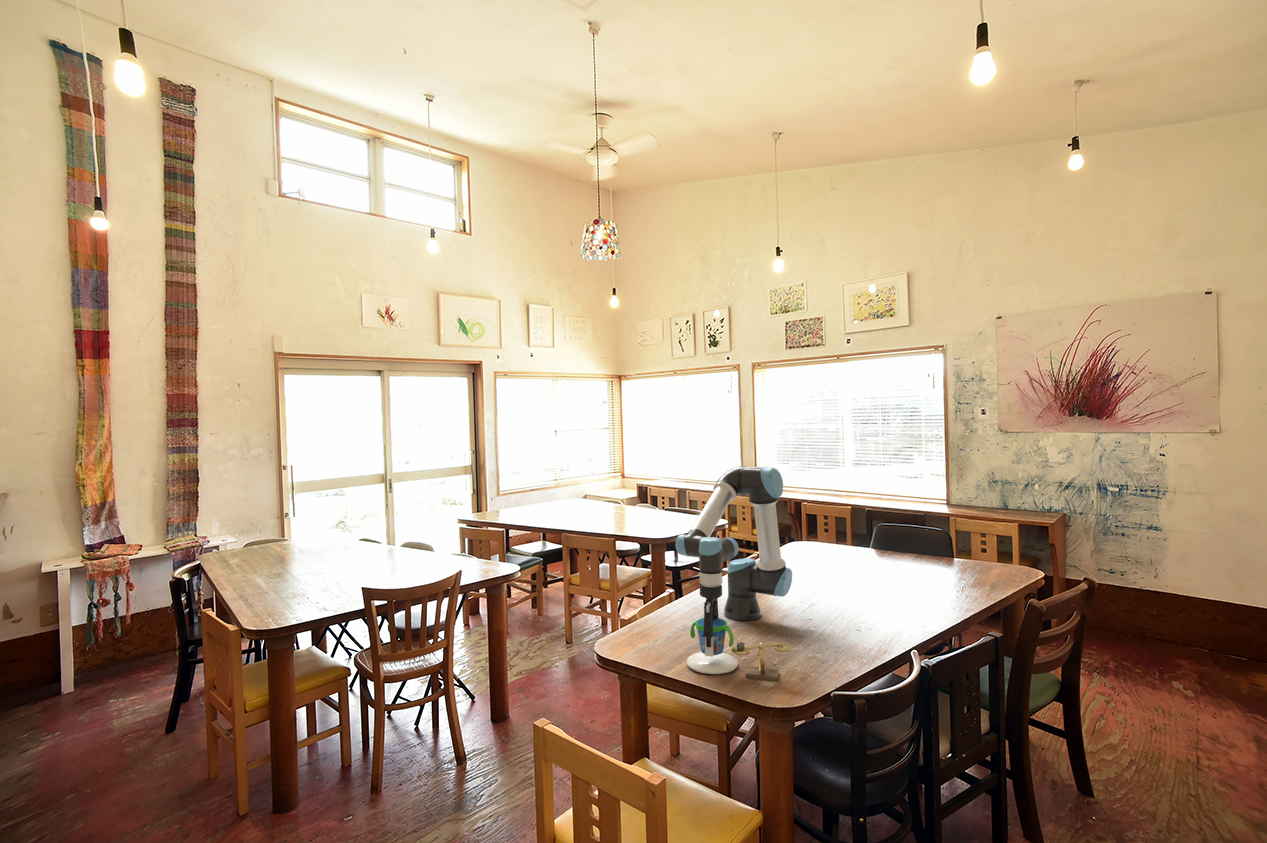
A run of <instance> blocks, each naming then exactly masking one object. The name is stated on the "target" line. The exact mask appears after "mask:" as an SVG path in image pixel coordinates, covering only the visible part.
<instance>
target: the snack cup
mask: <svg viewBox="0 0 1267 843" xmlns="http://www.w3.org/2000/svg"><path fill="white" fill-rule="evenodd" d="M695 627H696V629H697V630H696V631H697V636H698V641H699V642H698V643H699V647H700V652H702V653H703V654H705V637H702V634H704V617H702V618H699V619H697V620H696V621H694V622H693V623H692V624H691V627H690V638H691V639H694V638H695V637H696V633H695ZM712 631H713V634H712V635H713V654H714V655H719V654H722V653H724V649H725V648H724V647H725V641H726V640H725V638H726V632H727V633H728V636H729V643H728V646H729V648H732V647H733V645H734V641H735V640H734V634H733V632H732V629H731V628H730V626H728V622H727V621H726V620H725V619H723V618H720V617H719V618H717V619H713V629H712Z"/></svg>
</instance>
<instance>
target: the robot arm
mask: <svg viewBox="0 0 1267 843" xmlns="http://www.w3.org/2000/svg"><path fill="white" fill-rule="evenodd" d="M783 481H784V480H783V477H782V475H781V472H780V471H779V470H778V469H777V468H775V467H769V466H745V465H744V466H743V465H740V466H736V467H733V468H731V469H730V470H727V471H726V472H725V473H724V474H723V475H722V476H720V477H719V478H718V480H716V482H715V484H714V486H713V492H712V494H711V495H710V497H709V499H708V501H707V502H706V503H705V505H704V506H703V509H702V510H701V512H700V513H699V515H698V517H697V519H696V520H695V522H694V523H693V525H692V526H691V528H690V529H689V531H688V533H686V534H685V533H684V534H683V533H682V534H680V535H678V536H677V537H676V540H675V549H676V552H677V553H678V555H681V556H685V557H687V558H688V557H689V558H690V557H692V558H698V560H699V561H698V562H699V573H698V574H697V576H698V577H699V584H700V585H699V596H700V597H702V598H704V599H705V601H704V603H703V612H704V614H703V618H704V634H702V637H705V656H710V657H713V656H714V654H713V635H712V634H713V631H712V629H713V619H717V618H720V617H719V602H718V601H719V598H721V597H722V596H723V586H722V583H723V570H722V569H723V566H722V563H725V562H727V561H729V563H728V564H727V571H726V573H727V598H726V601H725V605H724V609H723V610H724V611H723V612H724V613H723V614H724V616H726V618H727V619H728V618H729V619H731V620H737V621H753V620H756V619H759V618H760V617H761V615H762V614H761V607H760V604H759V602H758V598H757V594H761V595H768V596H773V597H786V596H787V594H789V591H790V589H791V587H792V582H793V571H792V569H791V568H789V567H786V566H787V564H786V560H784V559H783V558H782V555H781V554H782V553H781V546H780V545H781V544H780V535H779V534H780V533H779V526H778V524H779V523H778V516H777V505H776V504H777V502H778V501H779V500H780V497H782V495H783V492H784V482H783ZM738 496H748V502H749V503H750V504H751V505H752V506H753V511H754V512H753V513H754V519H755V529H756V537H757V547H758V554H759V555H758V558H759V559H758V560H757V562H756V559H755V558H749V557H748V558H739V559H734V558H735V557H736V556H737V555H738V554H739V550H740V549H739V544H738V542H737V541H736V539H735V538H733V537H729V536H728V537H722V538H719V537H714V536H712V533H713V532H714V531H715V529H716V527H717V526H718V523H719V522H720V520H721V518H722V517H723V515H724V514H725V511H726V510H727V509H728V506H729V505H730V503H731V502H733V501H734V500H735V499H736V498H737V497H738ZM711 536H712V537H711ZM732 559H733V560H732ZM730 560H731V561H730Z"/></svg>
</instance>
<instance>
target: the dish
mask: <svg viewBox="0 0 1267 843" xmlns="http://www.w3.org/2000/svg"><path fill="white" fill-rule="evenodd" d="M738 663H739V662H738V660H737V659H736V657H734V656H733V655H730V654H728V653H724V652H722V654H719V655H714V656H713V657H710V656H705V654H703V653H702V651H700V652H695V653H694V654H691V655H690V656H688V657H687V660H686V664H687V666H688V668H689V669H691V670H692V671H695V672H698V673H701V674H707V675H721V674H727V673H731V672H733V671H735V670H736V669H737V668H738Z"/></svg>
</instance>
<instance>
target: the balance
mask: <svg viewBox="0 0 1267 843" xmlns="http://www.w3.org/2000/svg"><path fill="white" fill-rule="evenodd" d="M772 647H773V649H774V650H775V651H776V652H777V651H778V652H780V653H781V652H782V653H789V652H792V651H793V650H794V646H793V645H792V644H789V643H786V642H784V641H782V642H781V641H780V642H773V643H766V644H765V643H764V642H759V643H758V644H756V645H748V646H745V643H744V642H741V641H740V642H737V643H736V646H734V647H733V646H732V647H731V654H734V655H736V656H747V655H749V654H750V653H751V650H756V649H758V663H759V664H758V666H750V665H748V666H747V667H746V672H745V678H747V679H756V680H757V679H758V680H764V681H765V680H766V681H767V680H768V681H769V680H770V681H776V682H777V681H778V679H779V669H777V668H769V667H766V658H765V657H766V652H765V651H766V648H772Z"/></svg>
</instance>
